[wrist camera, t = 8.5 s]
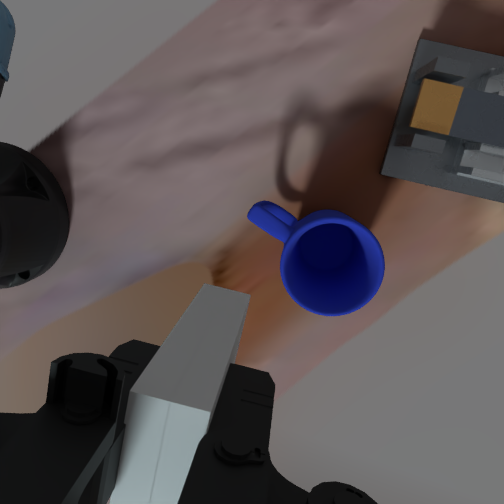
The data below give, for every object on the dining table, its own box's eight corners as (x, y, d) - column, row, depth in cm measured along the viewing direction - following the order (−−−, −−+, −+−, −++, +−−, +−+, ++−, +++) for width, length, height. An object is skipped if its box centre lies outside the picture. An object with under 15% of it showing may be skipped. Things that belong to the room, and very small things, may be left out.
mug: (283, 162, 45) (277, 167, 36) (384, 231, 46) (406, 255, 36) (237, 230, 47) (220, 253, 38) (335, 296, 48) (343, 335, 38)
